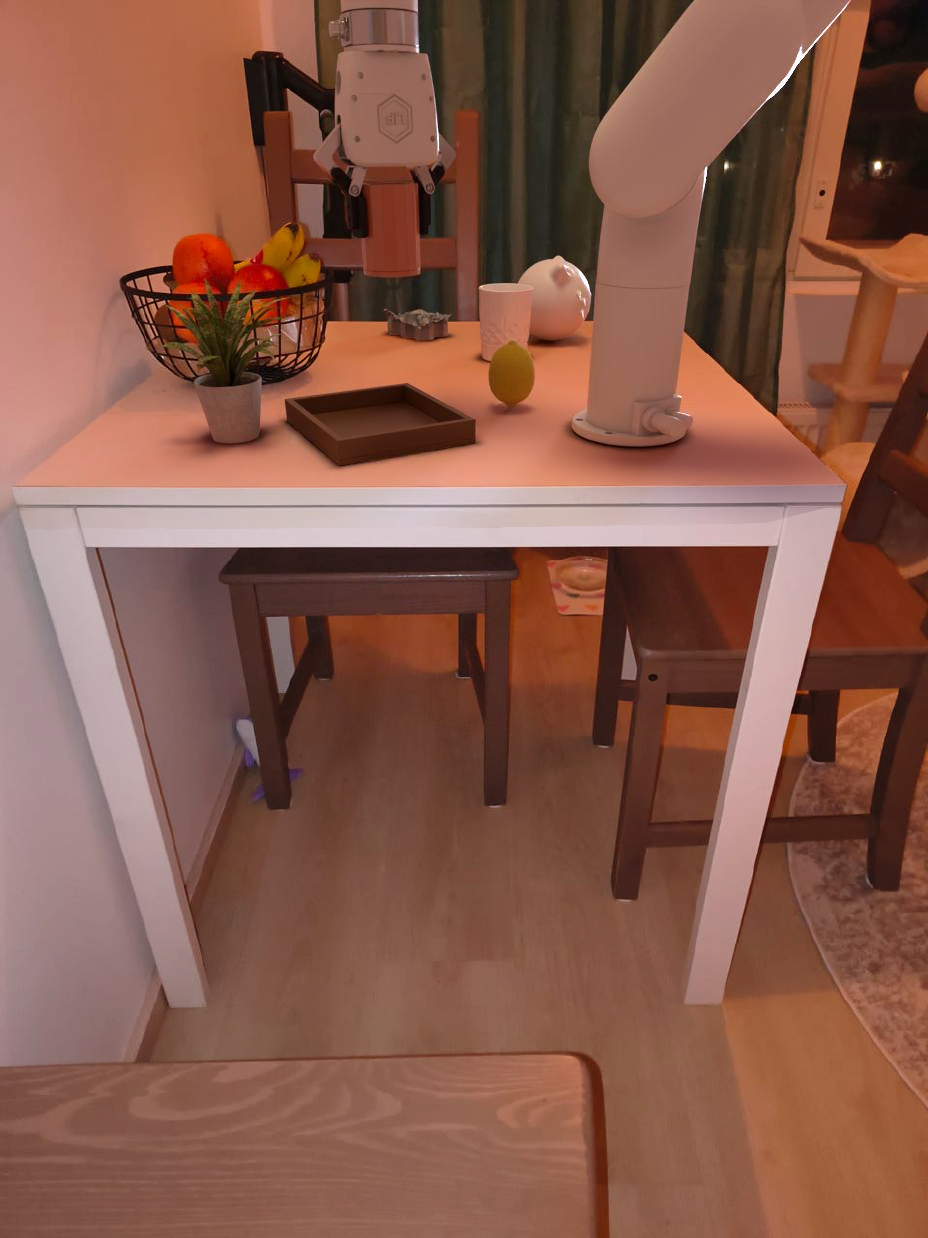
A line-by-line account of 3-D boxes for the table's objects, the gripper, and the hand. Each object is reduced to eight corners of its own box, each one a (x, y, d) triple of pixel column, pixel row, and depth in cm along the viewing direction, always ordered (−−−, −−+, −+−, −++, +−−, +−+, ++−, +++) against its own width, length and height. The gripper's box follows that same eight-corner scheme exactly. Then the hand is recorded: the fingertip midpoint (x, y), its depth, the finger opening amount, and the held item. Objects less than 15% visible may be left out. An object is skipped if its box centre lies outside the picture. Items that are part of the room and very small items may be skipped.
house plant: (287, 461, 84) (268, 290, 76) (153, 460, 84) (119, 290, 76) (312, 420, 96) (298, 270, 88) (195, 420, 97) (170, 270, 89)
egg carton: (381, 333, 141) (379, 308, 139) (414, 327, 145) (413, 303, 143) (422, 342, 134) (421, 316, 132) (455, 336, 139) (455, 310, 137)
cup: (430, 274, 92) (427, 183, 87) (375, 278, 89) (370, 184, 85) (407, 268, 97) (404, 181, 92) (355, 272, 94) (349, 182, 90)
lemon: (482, 412, 99) (482, 343, 95) (496, 400, 104) (497, 334, 100) (526, 416, 98) (528, 346, 94) (538, 404, 102) (541, 337, 98)
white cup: (531, 352, 128) (533, 283, 123) (529, 364, 121) (532, 291, 116) (480, 351, 128) (480, 282, 123) (475, 363, 121) (476, 290, 116)
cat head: (508, 330, 143) (510, 253, 137) (584, 331, 142) (590, 253, 136) (507, 349, 130) (509, 264, 124) (591, 349, 129) (597, 265, 123)
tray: (475, 442, 89) (475, 419, 88) (339, 466, 83) (337, 440, 82) (408, 403, 103) (407, 382, 101) (286, 420, 96) (284, 398, 95)
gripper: (307, 28, 76) (325, 242, 85) (475, 36, 82) (476, 234, 91) (285, 37, 82) (304, 236, 91) (444, 43, 88) (447, 229, 97)
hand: (390, 233), depth 91 cm, fingers closed on cup, 6 cm apart
